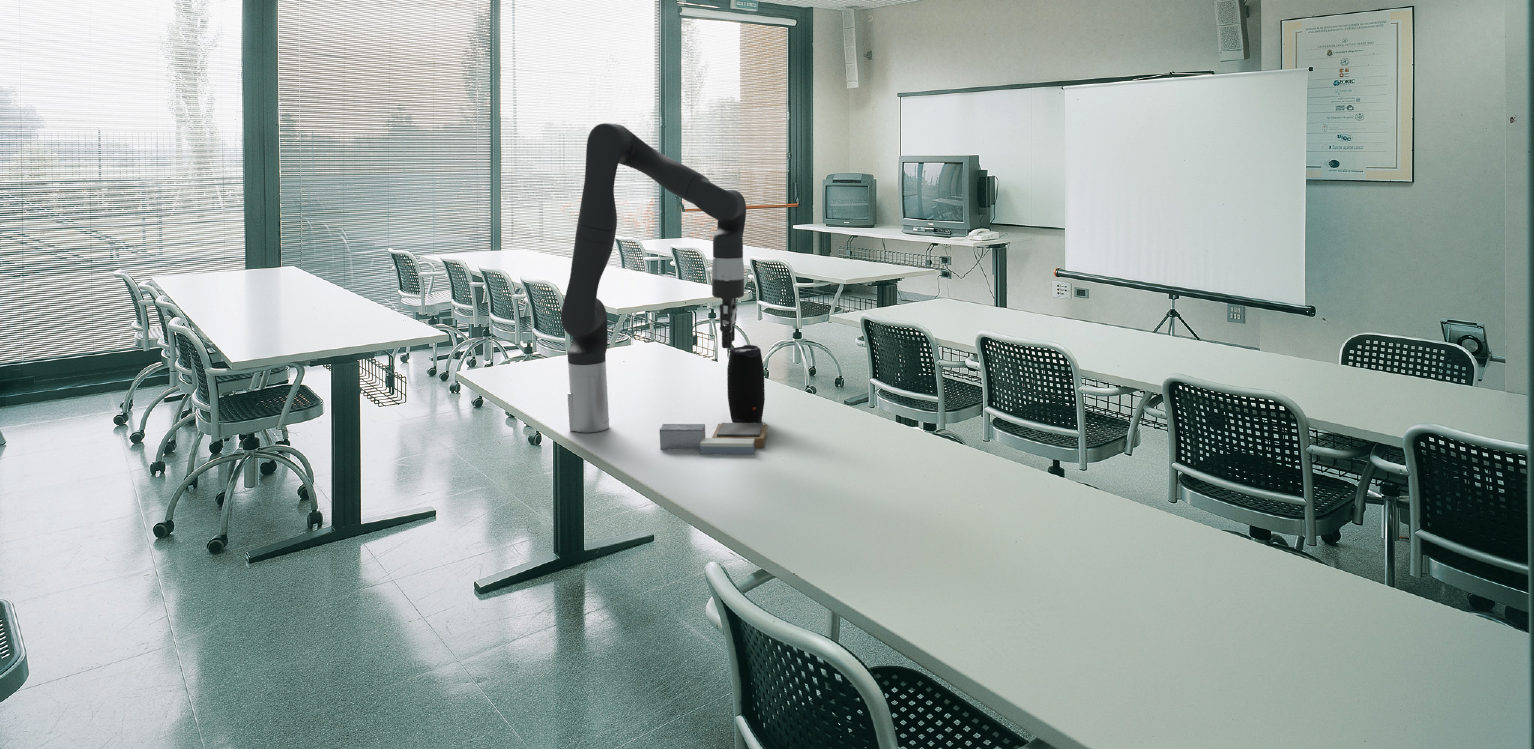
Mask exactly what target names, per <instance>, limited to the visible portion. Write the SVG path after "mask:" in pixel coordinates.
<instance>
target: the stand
mask: <svg viewBox="0 0 1534 749" xmlns="http://www.w3.org/2000/svg"><path fill="white" fill-rule="evenodd" d="M767 436H768V424H765V423H763V422H762V423H756V422H754V423H733V422H721V423H719V424H718V423H717V426H716V428H715V431H714V432H713V435H712V436H711V438H743V439H755V449H764V447H765V444H766V440H767Z"/></svg>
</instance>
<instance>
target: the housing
mask: <svg viewBox="0 0 1534 749" xmlns="http://www.w3.org/2000/svg"><path fill="white" fill-rule="evenodd" d="M703 438H707V437H706V424H705V423H663V424H662V425H661V426H660V428H659V444H660V445H659V447H660V448H659V449H660V451H661V450H663V451H664V450H668V449H671V450H673V449H685V450H684V451H686V450H687V449H697V450H698V449H701V447H700V443H701V441H702V439H703ZM671 450H670V451H671ZM668 451H669V450H668ZM673 451H674V450H673ZM687 451H688V450H687ZM698 451H699V450H698Z"/></svg>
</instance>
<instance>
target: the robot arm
mask: <svg viewBox="0 0 1534 749" xmlns="http://www.w3.org/2000/svg"><path fill="white" fill-rule="evenodd" d="M585 151H586V152H585V153H586V154H585V171H584V172H585V173H584V182H583V189H582V194H581V201H580V206H579V213H578V218H577V223H576V224H577V225H576V230H575V238H574V246H573V247H574V248H573V252H572V253H573V254H572V260H571V267H570V275H569V276H570V277H569V280H568V285H567V289H566V292H565V295H564V296H565V297H564V300H563V304H562V307H561V311H560V323H561V326H562V328H563V329H564V331H565V332H566V333H567V334H568V335H569V336H571V337H572V340H571V345H570V347H569V348H568V352H567V364H568V381H569V382H568V383H569V384H568V385H569V392H568V394H567V404H568V405H567V407H568V408H567V409H568V418H569V419H568V422H569V423H568V424H569V431H570V432H572V431H573V432H578V433H587V434H589V433H598V432H602V431H605V430H607V429H609V428H610V417H609V398H608V381H607V380H608V379H607V377H608V376H607V362H606V361H607V360H606V358H607V357H606V353H607V349H608V341H609V340H608V333H609V332H608V314H607V311H606V307H605V305H604V303H603V302H602V301H601V300H600V299H599V298H598V297H597V296H598V289H599V286H600V281H601V278H602V276H603V273H604V271H605V269H606V267H607V265H608V263H609V259H610V258H611V255H612V253H613V249H614V244H615V239H616V233H617V227H618V213H617V207H616V201H615V180H616V175H617V170H618V167H619V165H623V166H625V167H629V168H631V169H634V170H637V171H638V172H641V173H643V174H645V175H646V176H648V177H649V178H651V179H652V180H654V181H655V182H656V183H657V184H658V185H660V186H661V187H662V188H663V189H665V190H666V191H669V193H672V194H673V195H674V196H675V195H676V196H677V197H679V198H681V199H682V200H684V201H686V202H688V203H691V204H693V205H694V206H696V207H697V208H698V209H699V210H701V211H702V212H703V213H705V214H707V216H710V217H711V218H713V219H714V220H717V223H716V224H717V227H716V228H717V230H716V232H715V234H714V235H713V238H712V265H711V288H712V290H711V293H712V294H711V296H713V297H714V298H717V299H721V300H722V301H721V303H720V305H719V307H718V311H719V330H720V332H721V348H723V349H730V348H731V347H733V346H732V343H733V342H734V341H735V335H736V333H735V332H736V331H735V330H736V329H735V326H736V324H737V322H736V321H737V318H738V317H737V315H738V313H737V312H738V304H737V303H736V302H737V299H738V298H743V297H744V295H745V267H744V266H745V264H744V242H743V240H744V239H743V238H744V237H743V236H744V232H745V225H746V217H747V204H746V199H745V198H744V196H743V194H742V193H741V192H740V191H738V190H736V189H735V190H734V189H724V188H722V187H720V186H718V185H717V184H715V183H713V182H711V181H710V179H709V178H708V177H706V176H705V175H703V173H700V172H698V171H696V170H694V169H692V168H691V167H689V166H686V165H685V164H683V163H681V162H679V161H677V160H675V159H673V158H671V157H668V156H667V155H665V154H663V153H662V152H660V151H658V150H656V149H655V148H654V147H652V146H651V145H649V144H648V143H646V142H645V141H643V140H642V139H641V138H639V137H638V136H637V135H635V134H634V132H632V131H630V130H629V129H628V128H627V127H625V126H624V125H621V124H618V123H610V122H602V123H598V124H596V125H595V126H594V127H592V129H591V130H590V132H589V134H588V136H587V141H586V150H585Z"/></svg>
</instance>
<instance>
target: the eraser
mask: <svg viewBox="0 0 1534 749" xmlns="http://www.w3.org/2000/svg"><path fill="white" fill-rule="evenodd" d="M700 447H701V450H700V455H722V456H723V455H726V456H727V455H737V456H741V455H742V456H753V455H754V452H755V450H756V448H755V439H743V438H712V437H706V438H703V439H702V441H701V443H700Z"/></svg>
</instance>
